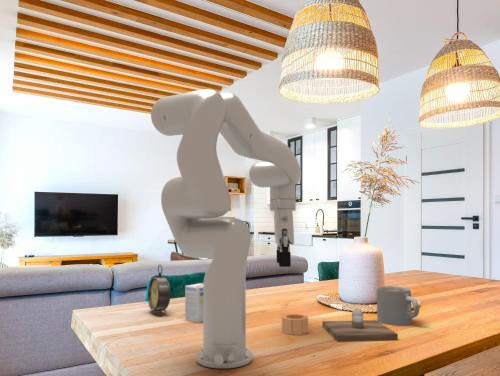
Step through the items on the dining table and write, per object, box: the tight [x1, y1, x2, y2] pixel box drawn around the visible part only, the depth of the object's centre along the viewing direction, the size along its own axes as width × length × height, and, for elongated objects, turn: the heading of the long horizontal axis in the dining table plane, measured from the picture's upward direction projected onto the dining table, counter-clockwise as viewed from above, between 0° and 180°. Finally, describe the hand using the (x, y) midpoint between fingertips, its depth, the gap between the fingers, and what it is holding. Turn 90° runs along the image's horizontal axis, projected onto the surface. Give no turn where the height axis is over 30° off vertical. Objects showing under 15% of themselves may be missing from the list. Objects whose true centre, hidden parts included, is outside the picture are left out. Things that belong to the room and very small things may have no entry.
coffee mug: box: [376, 285, 420, 327], centre depth 125 cm, size 13×10×10 cm
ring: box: [281, 313, 309, 336], centre depth 115 cm, size 7×7×4 cm
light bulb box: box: [184, 282, 204, 324], centre depth 131 cm, size 11×7×11 cm, turn 141°
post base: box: [321, 308, 399, 342], centre depth 114 cm, size 15×16×6 cm
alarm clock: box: [147, 264, 172, 317], centre depth 138 cm, size 11×5×16 cm, turn 31°
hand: (283, 264), depth 119 cm, fingers open, 9 cm apart
